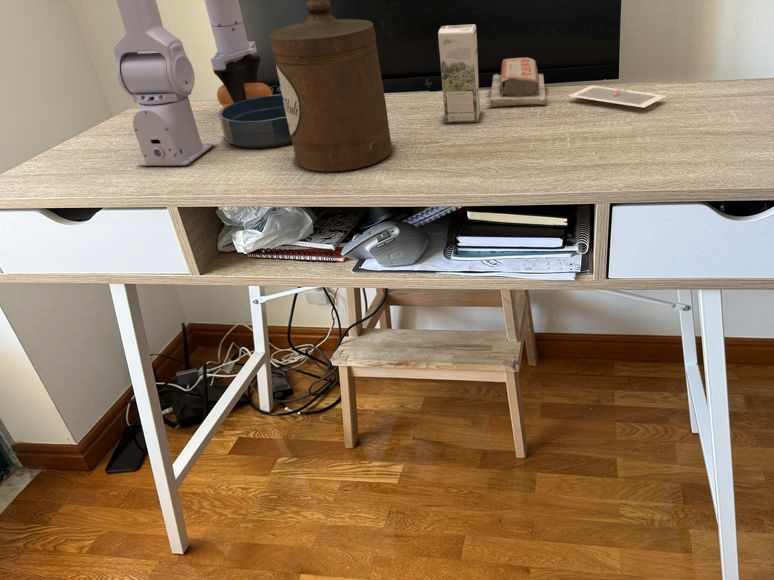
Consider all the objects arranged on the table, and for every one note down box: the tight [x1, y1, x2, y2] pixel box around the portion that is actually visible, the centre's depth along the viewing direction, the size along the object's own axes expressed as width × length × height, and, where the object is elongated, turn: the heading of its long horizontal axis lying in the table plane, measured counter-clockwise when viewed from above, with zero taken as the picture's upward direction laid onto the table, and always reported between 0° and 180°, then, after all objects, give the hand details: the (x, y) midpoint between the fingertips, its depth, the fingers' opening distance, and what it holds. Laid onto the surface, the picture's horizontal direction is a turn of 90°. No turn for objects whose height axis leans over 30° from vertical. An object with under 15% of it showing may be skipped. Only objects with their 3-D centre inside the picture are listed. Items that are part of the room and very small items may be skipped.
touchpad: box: [568, 84, 667, 109], centre depth 118 cm, size 8×15×2 cm, turn 49°
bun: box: [216, 82, 274, 109], centre depth 130 cm, size 11×5×5 cm, turn 81°
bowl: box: [217, 93, 293, 149], centre depth 115 cm, size 16×16×4 cm
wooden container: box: [269, 0, 393, 173], centre depth 98 cm, size 15×15×22 cm
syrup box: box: [437, 23, 481, 124], centre depth 112 cm, size 6×6×14 cm
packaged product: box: [489, 56, 547, 108], centre depth 126 cm, size 18×5×10 cm
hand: (246, 100), depth 130 cm, fingers closed on bun, 4 cm apart
